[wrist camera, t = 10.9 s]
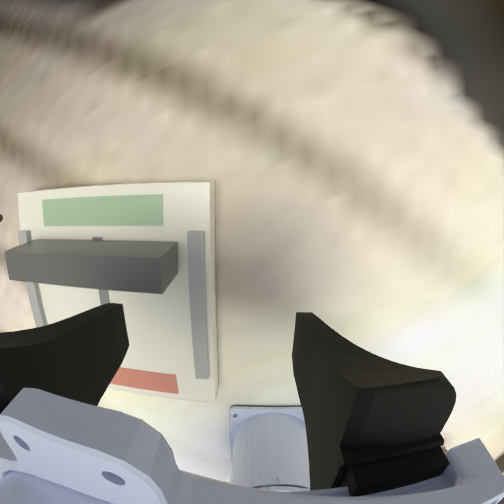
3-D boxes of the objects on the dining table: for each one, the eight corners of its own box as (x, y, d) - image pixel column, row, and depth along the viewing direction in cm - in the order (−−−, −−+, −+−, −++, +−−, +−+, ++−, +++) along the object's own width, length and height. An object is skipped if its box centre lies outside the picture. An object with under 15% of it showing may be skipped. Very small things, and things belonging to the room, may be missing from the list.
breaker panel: (218, 383, 25) (214, 407, 22) (65, 361, 25) (51, 378, 22) (215, 181, 20) (208, 182, 17) (35, 190, 21) (13, 194, 18)
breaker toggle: (178, 272, 19) (162, 294, 16) (37, 264, 19) (9, 279, 16) (177, 242, 19) (159, 258, 15) (34, 239, 19) (4, 251, 15)
